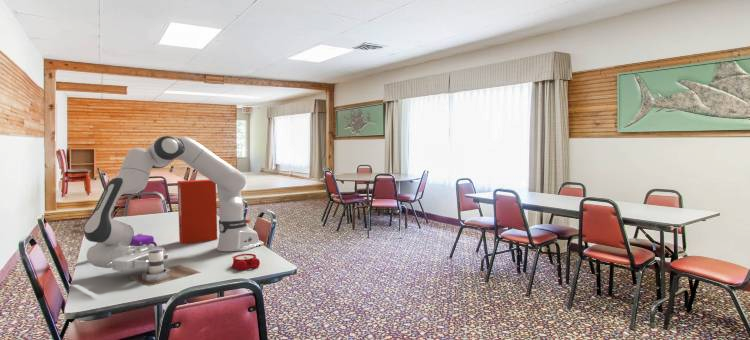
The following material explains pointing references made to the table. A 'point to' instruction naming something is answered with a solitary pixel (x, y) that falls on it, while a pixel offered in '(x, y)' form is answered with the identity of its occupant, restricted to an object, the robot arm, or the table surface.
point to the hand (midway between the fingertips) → (157, 259)
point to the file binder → (197, 211)
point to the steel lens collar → (156, 276)
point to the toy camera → (143, 240)
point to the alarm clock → (245, 261)
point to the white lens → (156, 262)
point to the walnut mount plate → (175, 273)
